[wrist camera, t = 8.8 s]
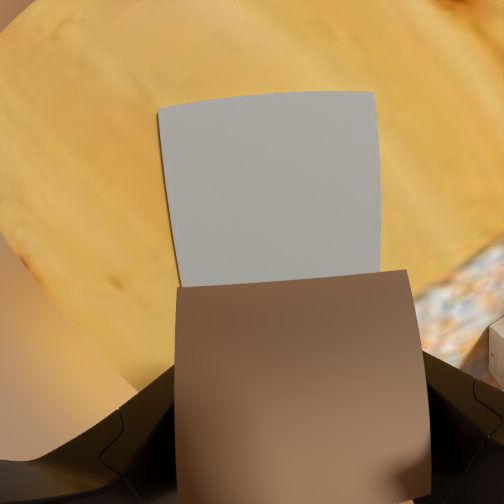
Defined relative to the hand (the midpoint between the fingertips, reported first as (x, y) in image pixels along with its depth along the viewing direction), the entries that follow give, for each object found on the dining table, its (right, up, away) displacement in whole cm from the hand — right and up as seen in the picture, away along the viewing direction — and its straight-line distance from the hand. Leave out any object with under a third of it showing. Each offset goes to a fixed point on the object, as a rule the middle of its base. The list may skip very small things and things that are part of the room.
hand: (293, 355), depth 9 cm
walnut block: (+1, -4, +5) cm, 7 cm away
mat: (0, +4, +10) cm, 11 cm away
